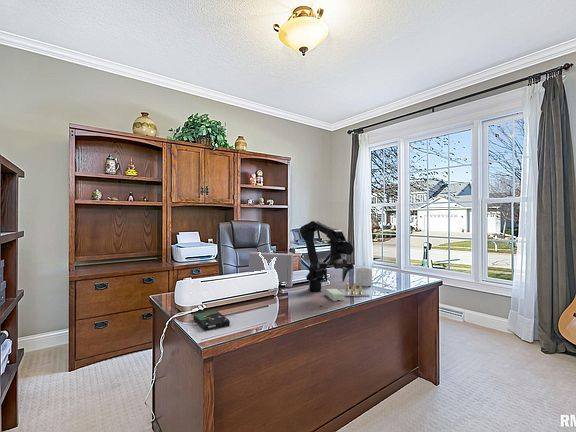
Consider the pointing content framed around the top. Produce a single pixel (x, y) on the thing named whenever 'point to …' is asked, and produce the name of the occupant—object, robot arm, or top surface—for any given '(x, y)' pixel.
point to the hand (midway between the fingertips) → (334, 281)
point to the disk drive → (211, 320)
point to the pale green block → (334, 294)
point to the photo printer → (363, 276)
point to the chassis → (353, 291)
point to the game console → (281, 265)
